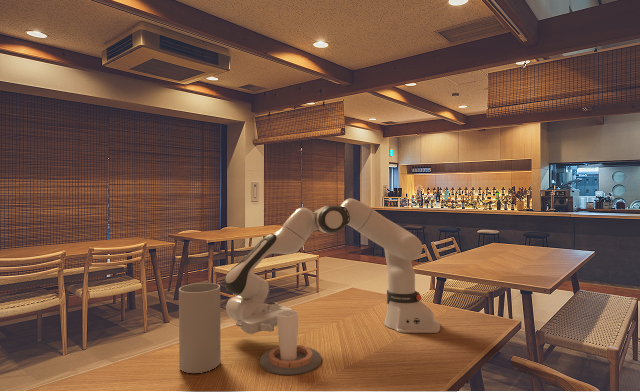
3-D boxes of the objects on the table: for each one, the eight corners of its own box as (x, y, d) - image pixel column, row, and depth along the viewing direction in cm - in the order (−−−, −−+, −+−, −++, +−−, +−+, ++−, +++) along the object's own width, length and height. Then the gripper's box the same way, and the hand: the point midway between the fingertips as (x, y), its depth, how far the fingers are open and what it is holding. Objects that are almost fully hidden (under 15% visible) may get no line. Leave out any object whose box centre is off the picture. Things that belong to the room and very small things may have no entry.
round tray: (326, 350, 129) (326, 344, 129) (312, 378, 110) (312, 370, 110) (272, 345, 134) (272, 339, 134) (249, 371, 115) (249, 363, 114)
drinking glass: (296, 364, 117) (295, 317, 117) (275, 363, 118) (274, 316, 118) (301, 355, 124) (300, 310, 123) (281, 354, 125) (280, 309, 125)
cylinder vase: (182, 378, 110) (181, 294, 110) (177, 362, 121) (176, 285, 121) (224, 369, 116) (224, 289, 116) (216, 354, 127) (215, 281, 127)
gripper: (233, 313, 126) (258, 323, 116) (279, 301, 141) (304, 309, 131) (233, 332, 126) (258, 343, 116) (279, 317, 141) (304, 326, 131)
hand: (283, 325), depth 124 cm, fingers open, 8 cm apart
